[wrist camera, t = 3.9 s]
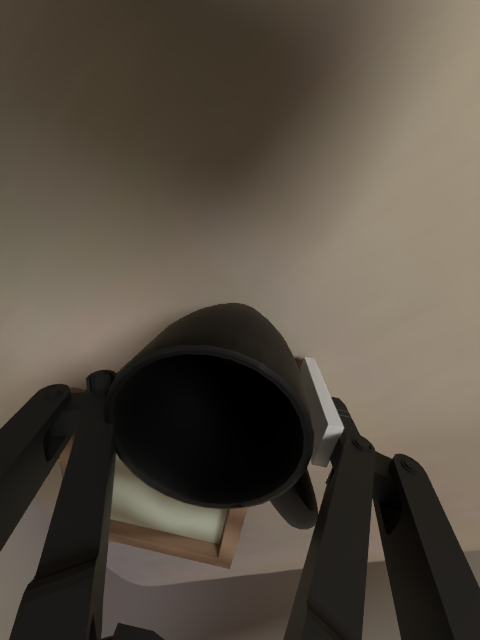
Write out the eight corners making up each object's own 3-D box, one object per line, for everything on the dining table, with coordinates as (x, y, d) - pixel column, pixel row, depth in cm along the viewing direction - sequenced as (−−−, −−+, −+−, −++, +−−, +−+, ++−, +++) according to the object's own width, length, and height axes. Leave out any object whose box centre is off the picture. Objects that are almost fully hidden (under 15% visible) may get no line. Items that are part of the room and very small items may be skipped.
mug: (248, 427, 21) (236, 573, 12) (162, 322, 18) (59, 408, 9) (333, 388, 18) (398, 532, 9) (249, 261, 16) (228, 295, 7)
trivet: (71, 387, 21) (50, 404, 19) (264, 428, 20) (264, 450, 18) (85, 509, 27) (71, 531, 25) (232, 543, 27) (229, 568, 25)
